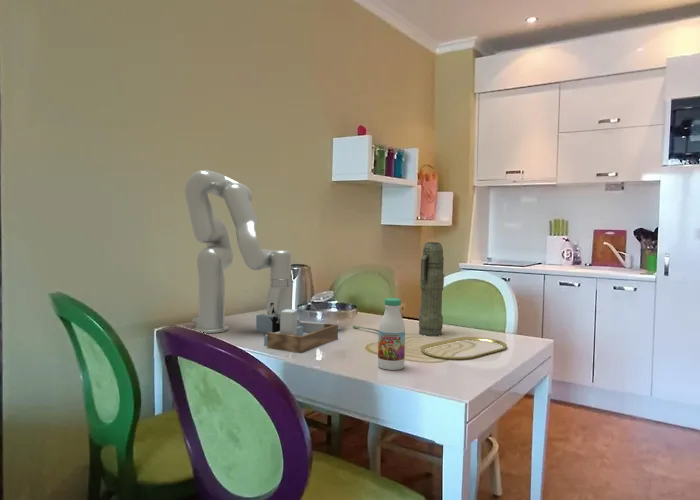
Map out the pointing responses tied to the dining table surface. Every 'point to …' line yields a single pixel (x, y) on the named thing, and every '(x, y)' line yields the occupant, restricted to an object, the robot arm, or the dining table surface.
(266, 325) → the crook
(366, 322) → the dining table surface
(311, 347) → the wooden u-shaped tray
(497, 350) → the serving platter
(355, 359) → the dining table surface
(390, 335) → the milk bottle
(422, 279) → the thermos
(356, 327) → the soupspoon
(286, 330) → the skincare box
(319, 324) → the grey plastic stick
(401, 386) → the dining table surface
